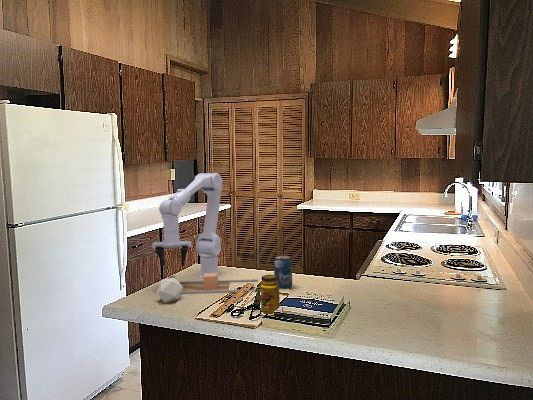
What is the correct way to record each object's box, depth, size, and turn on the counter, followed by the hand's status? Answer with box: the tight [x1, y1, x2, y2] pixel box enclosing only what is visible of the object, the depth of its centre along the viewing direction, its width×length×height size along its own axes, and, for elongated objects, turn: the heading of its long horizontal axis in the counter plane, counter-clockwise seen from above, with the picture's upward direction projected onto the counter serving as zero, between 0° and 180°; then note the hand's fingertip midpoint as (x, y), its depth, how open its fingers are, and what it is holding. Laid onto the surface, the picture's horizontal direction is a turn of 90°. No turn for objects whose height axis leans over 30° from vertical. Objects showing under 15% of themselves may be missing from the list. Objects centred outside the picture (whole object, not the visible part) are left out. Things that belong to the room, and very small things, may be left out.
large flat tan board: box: [167, 275, 231, 291], centre depth 172 cm, size 12×24×4 cm, turn 90°
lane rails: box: [177, 278, 259, 296], centre depth 172 cm, size 15×36×1 cm, turn 90°
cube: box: [202, 273, 219, 289], centre depth 172 cm, size 5×5×5 cm
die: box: [156, 277, 183, 304], centre depth 159 cm, size 8×9×10 cm
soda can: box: [273, 255, 293, 290], centre depth 171 cm, size 7×7×12 cm
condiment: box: [260, 274, 281, 314], centre depth 145 cm, size 7×8×12 cm
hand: (173, 265), depth 172 cm, fingers open, 7 cm apart
